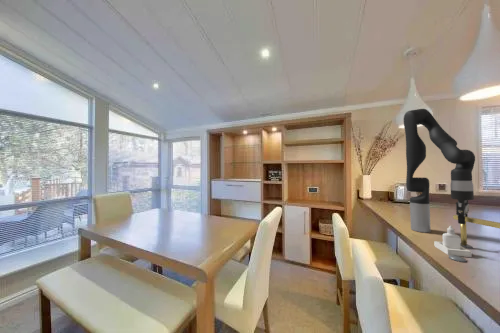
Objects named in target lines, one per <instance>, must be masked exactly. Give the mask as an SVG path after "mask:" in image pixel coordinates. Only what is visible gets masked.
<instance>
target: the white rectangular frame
mask: <svg viewBox="0 0 500 333" xmlns="http://www.w3.org/2000/svg"><path fill="white" fill-rule="evenodd" d="M433 242H434V243H433V244H434V247H435V248H436V249H438V250H440V251H441V252H442V253H444V254H446V255H447V256H449V255H455V256H459V257H463V258H464V257H465V258H472V251H471V250H470V249H468V248H464V247H462V246H461V250H458V249H449V248H447V247H445V246H444V245H443V241H436V240H434V241H433Z"/></svg>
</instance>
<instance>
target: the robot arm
mask: <svg viewBox="0 0 500 333" xmlns="http://www.w3.org/2000/svg"><path fill="white" fill-rule="evenodd" d="M420 125H421V126H423V127H425V128H426V129H427V131H428V135H429V138H430V141H431V142H432V143H433V144H434V145H435V146H436V147H437V148H438V149H439V150H440V151H441V154H442V155H443V157H444V159H446V160H447V161H448V162H449V163H451V164H455V168H452V169H451V171H450V198H451V199H453V200H457V201H456V202H455V211H456V213H455V215H457V216H458V220H457V223H458V224H459V225H460V224H465V216H466V217H469V215H468V214H469V212H470V208H469V207H470V203H469V201H473V200H474V199H475V196H474V194H475V193H474V191H475V190H474V183H473V173H472V172H473V169H474V168H475V167H474V165H475V163H476V155H475V153H474V152H473V151H471V150H469V149H460V148H459V147H458V146H457V145H458V141H457V140H456V139H454V137H452V136H451V135H450V134H449V133H447V132H446V131H445V129H443V127H442V126H441V125H440V123H439V122H438V120H436V119H435V117H434V116H433V114H432V113H431V112H430V111H429V110H428V109H425V108H418V109H412V110H408V111H406V112H405V113H404V116H403V126H404V134H405V157H406V158H405V159H406V179H405V181H406V182H405V184H406V185H405V187H406V190H407V191H408V192H409V193H410V192H411V193H421V194H419V195H416V196H412V197H410V198H409V213H410V214H409V216H410V230H412V231H415V232H420V233H432V230H431V208H430V207H431V206H430V205H431V204H430V202H431V201H430V180H429V178H428V177H414V175H415V173H416V170H418V168H419V167H420V165H422V163H423V162H424V161H425V159H426V158H427V146H426V143H425V141H423V139H422V138H421V137H420V134H419V132H418V126H420Z"/></svg>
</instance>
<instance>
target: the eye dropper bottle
mask: <svg viewBox="0 0 500 333" xmlns="http://www.w3.org/2000/svg"><path fill="white" fill-rule="evenodd" d="M442 242H443V245H444V246H445V247H447V248H449V249H458V250H461V245H460V243H461V235H458V234H456V230H455V228H453V226H452V225H449V227H447V228H446V232H444V233H443V234H442Z"/></svg>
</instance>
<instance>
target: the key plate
mask: <svg viewBox="0 0 500 333" xmlns="http://www.w3.org/2000/svg"><path fill="white" fill-rule="evenodd" d="M460 245H461V246H462V247H464V248H466V249H467V250H470V249H471V250H472V249H473V246H472V245H470V244H468V243H467V245H462V244H461V242H460ZM473 250H474V249H473Z"/></svg>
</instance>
